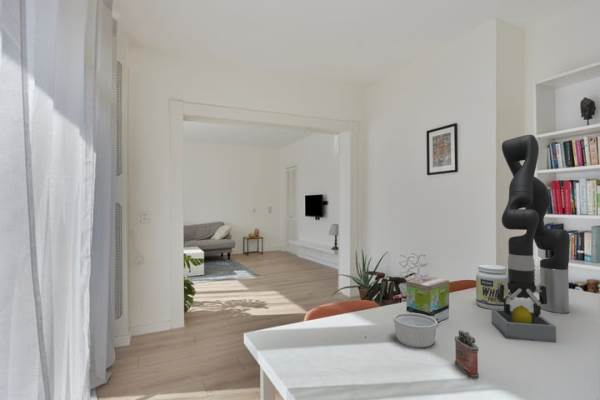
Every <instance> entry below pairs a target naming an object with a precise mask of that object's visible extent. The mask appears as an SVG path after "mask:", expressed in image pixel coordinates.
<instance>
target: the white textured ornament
mask: <svg viewBox="0 0 600 400" xmlns="http://www.w3.org/2000/svg"><path fill="white" fill-rule="evenodd" d="M533 257H534V265H535V268H534V270H535V283H534V284H535V286H539V285H540V260H542V259H543V258H542V257H540V256H537V255H533ZM535 291H537V289H536V290H535Z"/></svg>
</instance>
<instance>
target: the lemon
mask: <svg viewBox="0 0 600 400" xmlns="http://www.w3.org/2000/svg"><path fill="white" fill-rule="evenodd" d="M512 311H513V313H512V318H513V321H514V323H528V324H531V322H532V316H531V313H530V312H531V311H530V310H529V309H528V308H527V307H525V306H524V305H519V306H517V307H514V308H513V310H512Z"/></svg>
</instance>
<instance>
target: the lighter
mask: <svg viewBox="0 0 600 400" xmlns="http://www.w3.org/2000/svg"><path fill="white" fill-rule="evenodd" d="M454 342H455V344H454V345H455V360H454V365H455V367H456V369H457V370H459V371H460V372H461V373H462V374H464V375H465V376H467V377H468V378H470V379H479V377H480V374H479V371H478V370H479V368H478V367H479V365H478V364H479V361H478V360H479V359H478V357H479V355H478V352H479V346H478V345H477V344H475V343H476V338H475V337H474V336H473V335H471V334H470V332H469V331H465V330H463V329H458V335H455V336H454Z"/></svg>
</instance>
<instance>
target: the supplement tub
mask: <svg viewBox="0 0 600 400" xmlns="http://www.w3.org/2000/svg"><path fill="white" fill-rule="evenodd" d="M477 267H478V268H477V272H476V275H475V278H476V279H475V290H476V291H475V294H476V295H475V297H476V298H475V299H476V300H475V302H476V304H477V305H478V306H479V307H482V308H484V309H490V310H492V309H493V310H504V303H503V302H500V301H499V300H498V299H497V291H498V283H501V284H508V270H507V267H506V266H503V265H499V264H498V265H497V264H478V266H477ZM509 291H510V290H509V289H508V288H506V290H505V291H504V298H505V297H506V295H507V293H508V292H509Z"/></svg>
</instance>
